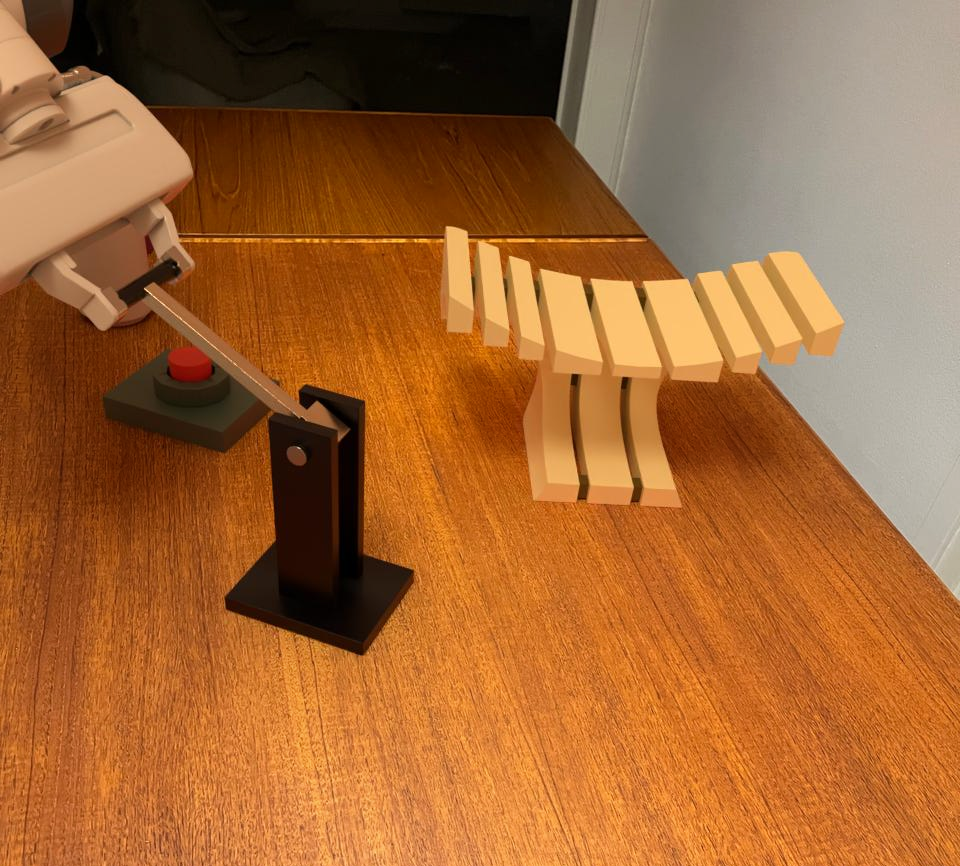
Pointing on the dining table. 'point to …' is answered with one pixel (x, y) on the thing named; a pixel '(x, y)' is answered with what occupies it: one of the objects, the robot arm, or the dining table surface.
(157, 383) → the box
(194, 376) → the button
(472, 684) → the dining table surface
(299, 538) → the bracket
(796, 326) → the slatted curved stool
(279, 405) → the lever
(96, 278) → the can
